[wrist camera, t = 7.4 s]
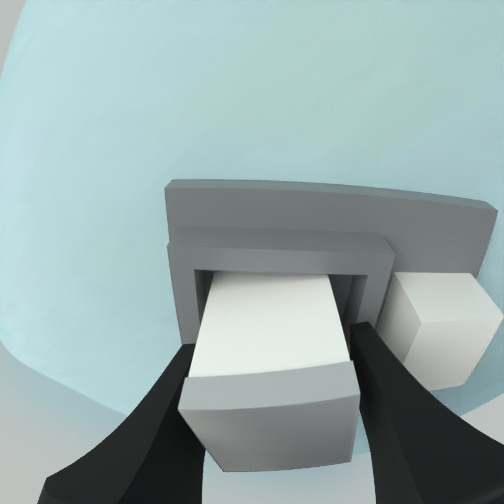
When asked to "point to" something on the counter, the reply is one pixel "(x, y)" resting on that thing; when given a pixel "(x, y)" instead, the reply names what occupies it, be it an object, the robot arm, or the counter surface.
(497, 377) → the counter surface
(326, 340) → the plug
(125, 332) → the counter surface
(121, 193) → the counter surface
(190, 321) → the grey block holder
